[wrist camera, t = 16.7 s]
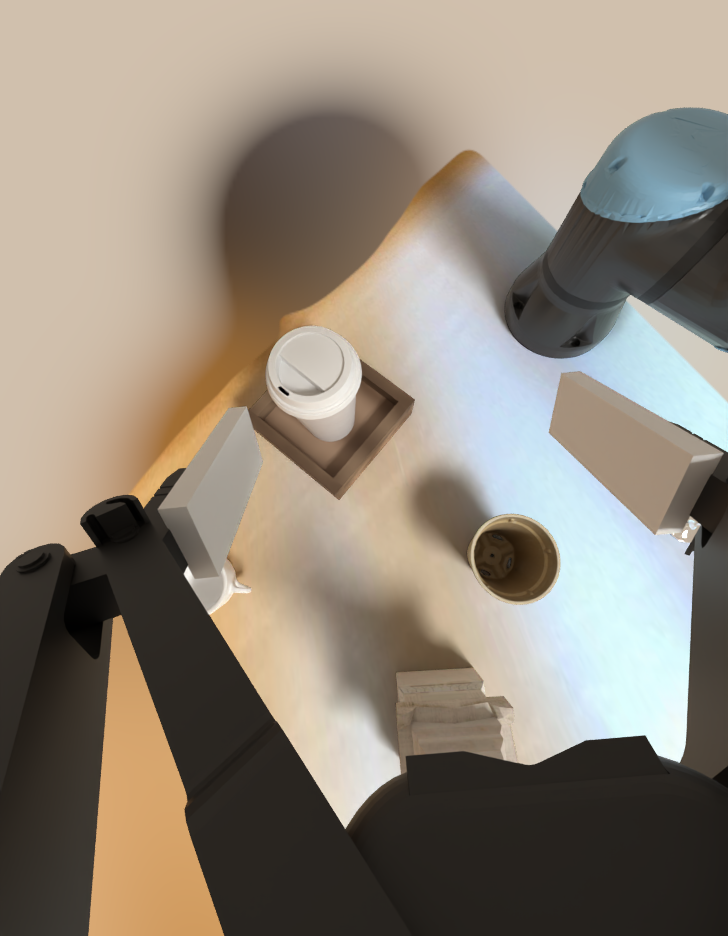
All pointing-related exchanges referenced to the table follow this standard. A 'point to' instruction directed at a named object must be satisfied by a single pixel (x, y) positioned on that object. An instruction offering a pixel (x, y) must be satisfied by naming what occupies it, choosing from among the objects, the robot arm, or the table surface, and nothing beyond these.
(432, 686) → the miniature monument
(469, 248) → the table surface
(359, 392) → the walnut stand
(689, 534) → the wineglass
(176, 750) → the robot arm
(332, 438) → the coffee cup
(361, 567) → the table surface
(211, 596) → the teacup
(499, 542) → the flower pot
